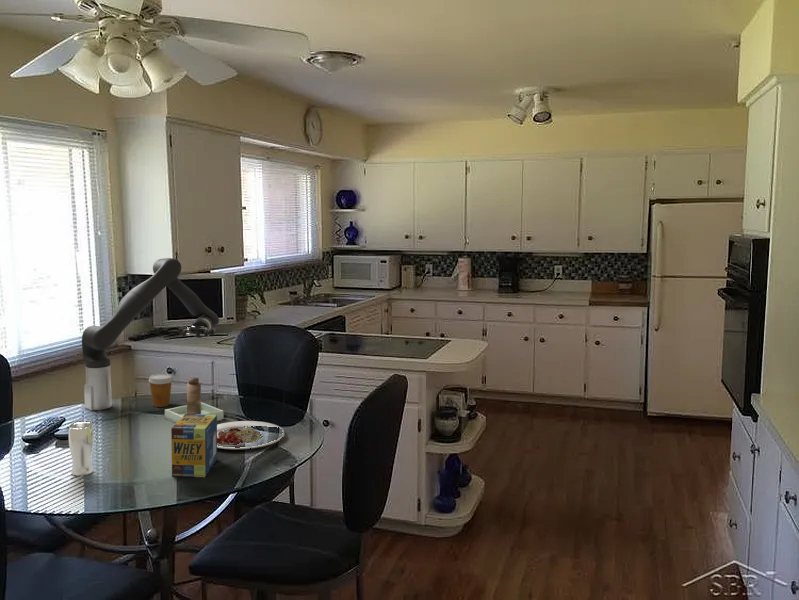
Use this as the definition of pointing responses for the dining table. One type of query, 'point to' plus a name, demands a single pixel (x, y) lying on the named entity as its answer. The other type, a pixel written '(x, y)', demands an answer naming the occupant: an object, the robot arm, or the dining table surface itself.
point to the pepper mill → (194, 396)
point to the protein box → (194, 445)
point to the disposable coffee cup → (160, 389)
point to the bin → (179, 412)
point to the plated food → (241, 434)
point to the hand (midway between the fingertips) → (194, 334)
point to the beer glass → (81, 447)
